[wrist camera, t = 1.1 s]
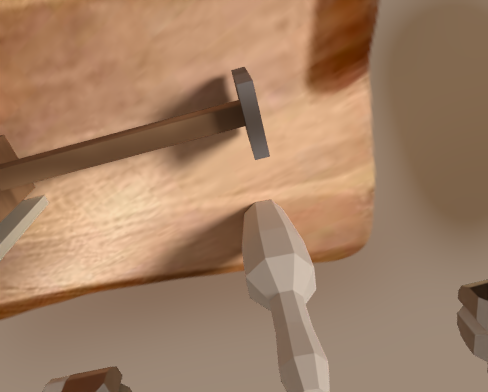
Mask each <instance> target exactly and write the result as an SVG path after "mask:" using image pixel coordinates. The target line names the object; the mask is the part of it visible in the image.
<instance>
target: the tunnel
mask: <svg viewBox="0 0 488 392" xmlns="http://www.w3.org/2000/svg"><path fill="white" fill-rule="evenodd" d="M48 204H49V202H48V200H47V198H46V197H45V195H42V196H39V197H35V198H31V199H27V200H24V201H21V202H20V203H19V204H18V205H17V206H16V207H15V208H14V209H13V210H12V211H11V212H10V213H9V214H8V215H7V216H6V217H5V218H4V219H3V220H2V221H1V222H0V261H1V260H2V258H3V257H4V256H5V255H6V254H7V252H8V251H9V250H10V249H11V248H12V246H13V245H14V244H15V243H16V242H17V241H18V239H19V238H20V237H21V236H22V235H23V233H24V232H25V231H26V230H27V229H28V227H29V226H30V225H31V224H32V223H33V222H34V220H35V219H36V218H37V217H38V216H39V214H40V213H41V212H42V211H43V210H44V209H45V207H46V206H47V205H48Z"/></svg>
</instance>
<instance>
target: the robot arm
mask: <svg viewBox="0 0 488 392" xmlns="http://www.w3.org/2000/svg"><path fill="white" fill-rule="evenodd" d="M458 299H459V301H460V302H461V303H462V304H463V306H462V308H461V309H460V310H459V312H458V313H457V325H458V328H459V331H460V334H461V336H462V338H463V340H464V342H465V343H466V345H467V347H468V348H469V349H470V351H471V352H472V353H473V354H474V355H475V356H477V357H479V358H481V359H483V360H485V361H487V362H488V279H487V280H483V281H479V282H474V283H470V284H466V285H462V286H461V287H460V289H459V291H458ZM487 371H488V370H487ZM121 379H122V374H121V372H120V371H119V369H118V368H117V367H108V368H103V369H98V370H93V371H88V372H83V373H78V374H73V375H70V376H65V377H61V378H55V379H52V380H50V382H48V383H47V384H46V386H45V387H44V389H43V391H42V392H132V391H131V389H130V387H128V386H125V385H123V384H121Z"/></svg>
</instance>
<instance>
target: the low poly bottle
mask: <svg viewBox="0 0 488 392" xmlns="http://www.w3.org/2000/svg"><path fill="white" fill-rule="evenodd" d="M242 254H243V262H244V270H245V277H246V282H247V286H248V291H249V296H250V298H251V299H252V300H254V301H256V302H257V303H259V304H260V305H262V306H263V307H265V308H266V309H268V310H270V311H271V312H272V317H273V322H274V327H275V332H276V341H277V353H278V364H279V371H280V377H281V382H282V384H283V385H284V387H285V389H286V391H287V392H330V390H329V368H328V360H327V358H326V356H325V354H324V351H323V349H322V347H321V345H320V342H319V340H318V338H317V336H316V334H315V331H314V329H313V327H312V324H311V321H310V317H309V314H308V311H307V308H306V305H305V304H306V303H307V302H308V300H309V299H310V297H311V296H312V294H313V293H314V292H315V290H316V282H315V271H314V266H313V264H312V261H311V259H310V256H309V254H308V251H307V249H306V246H305V244H304V241H303V239H302V238H301V236H300V235H299V233H298V232H297V230H296V229H295V227H294V225H293V224H292V222H291V221H290V219H289V218H288V216H287V215H286V213H285V212H284V210H283V209H282V208H281V207H280V206H279V205H278V204H276V203H275V202H274V201H273V200H265V201H260V202H255V203H254V204H253V205H252V206H251V207H250V208H249V209H248V210H247V211H246V212H245V213H244V225H243V238H242Z"/></svg>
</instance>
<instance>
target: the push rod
mask: <svg viewBox="0 0 488 392" xmlns="http://www.w3.org/2000/svg"><path fill="white" fill-rule="evenodd" d="M231 71H232V75H233V79H234V83H235V87H236V91H237V95H238V99H239V100H237V101H233V102H229V103H226V104H222V105H218V106H215V107H211V108H207V109H203V110H200V111H196V112H192V113H189V114H185V115H181V116H177V117H174V118H170V119H166V120H162V121H159V122H155V123H151V124H148V125H144V126H140V127H136V128H133V129H129V130H125V131H122V132H118V133H114V134H110V135H107V136H103V137H99V138H96V139H92V140H88V141H84V142H81V143H77V144H73V145H70V146H66V147H62V148H58V149H55V150H51V151H47V152H44V153H40V154H36V155H32V156H29V157H25V158H21V159H18V157H17V156H16V154H15V152H14V151H13V149H12V147H11V146H10V144H9V142H8V140H7V139H6V137H5V135H1V136H0V222H1V221H2V220H3V219H4V218H5V217H6V216H7V215H8V214H9V213H10V212H11V211H12V210H13V209H14V208H15V207H16V206H17V205H18V204H19V203H20V202H21V201H22V200H23V199H24V198H25V197H26V196H27V195H28V194H29V193H30V192H31V191H32V190H33V189H34V188H35V186H34V184H33V182H37V181H40V180H44V179H48V178H52V177H55V176H59V175H63V174H67V173H70V172H74V171H78V170H82V169H86V168H89V167H93V166H97V165H101V164H104V163H108V162H112V161H116V160H119V159H123V158H127V157H131V156H134V155H138V154H142V153H146V152H149V151H153V150H157V149H161V148H165V147H168V146H172V145H176V144H180V143H183V142H187V141H191V140H195V139H198V138H202V137H206V136H210V135H213V134H217V133H221V132H225V131H228V130H232V129H236V128H240V127H244V126H246V130H247V134H248V138H249V141H250V144H251V148H252V151H253V154H254V158H255V160H258V159H261V158H265V157H269V156H270V155H269V150H268V146H267V142H266V137H265V133H264V128H263V124H262V119H261V115H260V111H259V106H258V102H257V97H256V93H255V89H254V84H253V80H252V78H251V77H250V75H249V73H248V72H247V70H246V68H245V67H242V68H238V69H234V70H231Z"/></svg>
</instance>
